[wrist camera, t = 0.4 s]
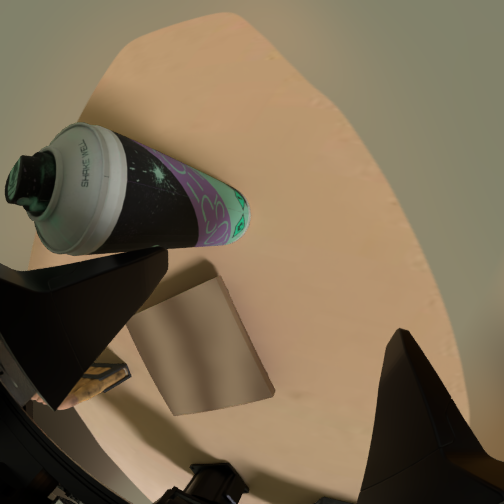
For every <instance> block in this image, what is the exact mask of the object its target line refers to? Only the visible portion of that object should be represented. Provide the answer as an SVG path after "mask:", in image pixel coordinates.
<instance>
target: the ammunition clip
mask: <svg viewBox="0 0 504 504" xmlns="http://www.w3.org/2000/svg"><path fill="white" fill-rule="evenodd" d="M130 377H131V374H130V372H129V369H128V366H127V364H105V363H93V364H92V365H91V366H90V367H89V369H88V370H87V371H86V372H85V373H84V375H83V376H82V378H81V379H80V380H79V381H78V383H77V384H76V385H75V387H74V388H73V389H72V390H71V392H70V393H69V394H68V396H67V397H66V398H65V399H64V401H63V402H62V403H61V405H60V406H59V407H58V410H63V409H66V408H70V407H72V406H74V405H76V404H79V403H81V402H83V401H86V400H88V399H90V398H92V397H94V396H95V395H97V394H99V393H101V392H104V393H105V392H107V391H109V390H110V389H112V388H114V387H115V386H117V385H119V384H120V383H122V382H124V381H125V380H127V379H129V378H130ZM31 399H32V400H36V401H37V402H43V404H46V403H45V402H44V401H43V399H42V398H41V397H40V396H39V395H38V394H37V393H36V394H35V395H34V396H33V397H32V398H31Z"/></svg>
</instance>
